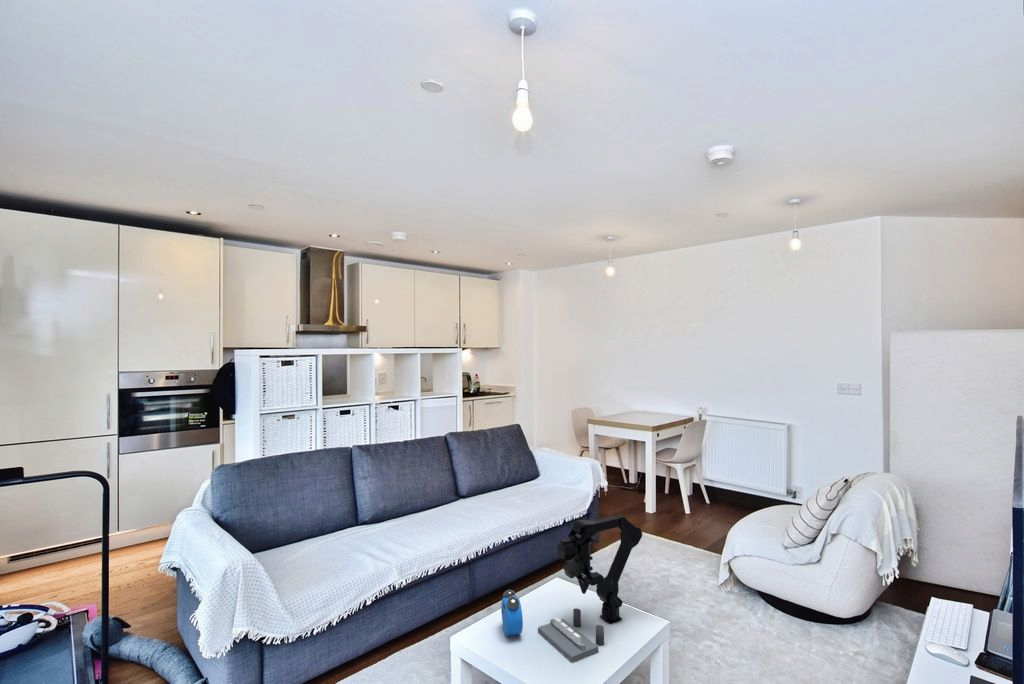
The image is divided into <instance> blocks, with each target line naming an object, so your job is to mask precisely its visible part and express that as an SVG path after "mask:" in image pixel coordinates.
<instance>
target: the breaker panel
mask: <svg viewBox="0 0 1024 684" xmlns="http://www.w3.org/2000/svg"><path fill="white" fill-rule="evenodd" d="M560 620H561V621H562V622H563V623H565V624H566V625H567V626H568V627H570V628H571V629H572V630H573V631H574V633H575V632H576V633H577V634H578V635H580V636H581V648H580V647H579V646H578V645H577V644H576V643H574V642H573V641H572V640H571V639H570V638H568V637H567V636H566V635H565V634H564V633H562V632H561V631H560V630H559V629H558V628H556V627H555V626H554V625H553V624H552V622H553V621H554V618H550V621H549V622H550V623H547V624H544V625H540V626H538V627H537V633H538V634H539V635H540V636H542V638H544V639H545V640H546V641H547V642H548V643H549V644H551V646H553V648H554V649H556V650H557V651H558V652H559V653H561V655H563V657H565V658H566V659H567V660H568V661H569V662H570V663H571V664H572V663H575V662H577V661H580V660H582V659H585V658H588V657H590V656H592V655H595V654H597V653H599V652H600V651H599V645H597V644H596V642H594V641H592V640H591V639H589V638H588V637H587V636H585V634H583V633H582V632H581V631H579V630H578V629H577V628H576V627H574V626H573V625H572V624H571V623H569V622H568V621H567V620H566V619H564V618H561V619H560Z"/></svg>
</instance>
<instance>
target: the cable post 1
mask: <svg viewBox="0 0 1024 684" xmlns="http://www.w3.org/2000/svg"><path fill="white" fill-rule="evenodd" d="M581 613H582V611H581V609H580V608H578V607H577V608H573V610H572V617H573V618H572V619H573V620H572V622H573V625H572V626H573V627H574V628H576V629H577V628H580V627H581V626H582V617H581V616H582V615H581Z"/></svg>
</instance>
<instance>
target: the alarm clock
mask: <svg viewBox="0 0 1024 684" xmlns="http://www.w3.org/2000/svg"><path fill="white" fill-rule="evenodd" d="M500 607H501V608H500V609H501V620H502V621H501V622H502V628H503V632H504V634H505V636H507V637H508V636H515V635H517V636H518V637H520V635H521V634H522V633H523V628H524V627H523V625H524V622H523V620H524V618H523V610H522V604H521V601H520V598H519V597H518V596H517V595H516V592H515V591H514V590H512V589H508V590H506V591H504V592H503V596H502V598H501V605H500Z"/></svg>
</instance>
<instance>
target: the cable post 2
mask: <svg viewBox="0 0 1024 684" xmlns="http://www.w3.org/2000/svg"><path fill="white" fill-rule="evenodd" d="M604 627H605V626H603V625H601V624H597V625H596V626H595V644H596V645H597V646H598V647H601V646H604V645H605V635H604V634H605V629H604Z"/></svg>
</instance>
